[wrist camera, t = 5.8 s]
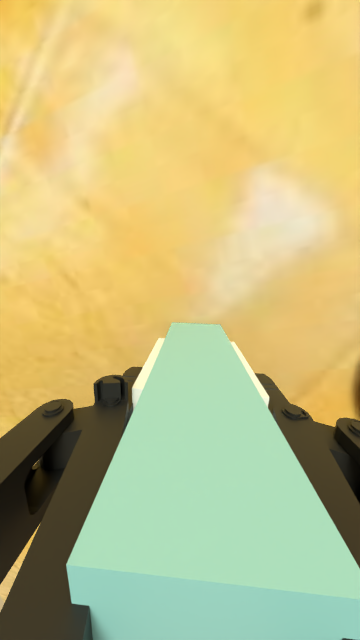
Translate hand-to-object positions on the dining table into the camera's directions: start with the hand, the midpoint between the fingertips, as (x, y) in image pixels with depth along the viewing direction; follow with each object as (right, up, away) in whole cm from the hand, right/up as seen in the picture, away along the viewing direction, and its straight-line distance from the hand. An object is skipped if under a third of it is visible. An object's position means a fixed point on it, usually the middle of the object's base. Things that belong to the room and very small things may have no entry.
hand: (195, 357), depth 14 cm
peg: (0, +1, +2) cm, 2 cm away
